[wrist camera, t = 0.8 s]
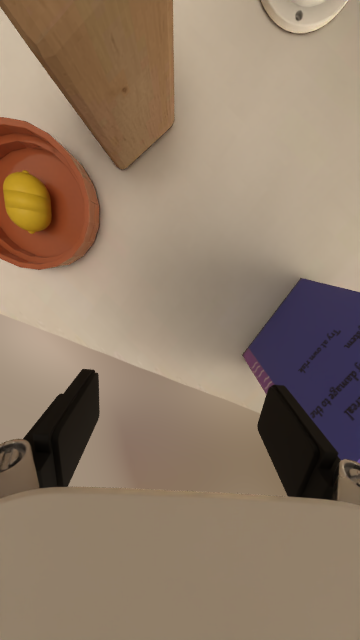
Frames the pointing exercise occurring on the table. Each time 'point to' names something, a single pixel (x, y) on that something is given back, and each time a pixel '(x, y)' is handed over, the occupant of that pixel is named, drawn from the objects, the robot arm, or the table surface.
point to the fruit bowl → (65, 194)
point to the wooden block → (106, 64)
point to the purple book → (316, 359)
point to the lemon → (27, 201)
